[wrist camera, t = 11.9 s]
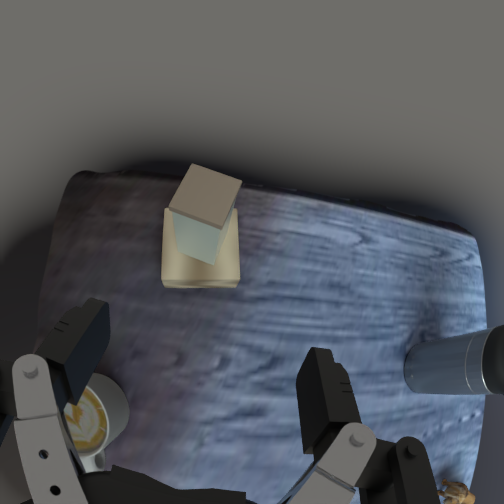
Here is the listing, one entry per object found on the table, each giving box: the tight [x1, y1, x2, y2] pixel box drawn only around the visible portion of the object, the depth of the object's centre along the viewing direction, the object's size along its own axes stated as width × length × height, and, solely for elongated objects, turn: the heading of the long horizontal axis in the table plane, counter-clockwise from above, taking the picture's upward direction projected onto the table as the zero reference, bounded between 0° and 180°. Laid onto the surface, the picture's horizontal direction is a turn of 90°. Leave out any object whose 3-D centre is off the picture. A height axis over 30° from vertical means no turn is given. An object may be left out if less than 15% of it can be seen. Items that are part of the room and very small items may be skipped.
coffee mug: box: [64, 373, 129, 473], centre depth 28 cm, size 13×10×10 cm
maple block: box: [161, 208, 240, 288], centre depth 42 cm, size 10×10×5 cm
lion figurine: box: [438, 479, 475, 504], centre depth 31 cm, size 15×5×9 cm, turn 57°
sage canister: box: [168, 164, 242, 266], centre depth 34 cm, size 5×5×12 cm
